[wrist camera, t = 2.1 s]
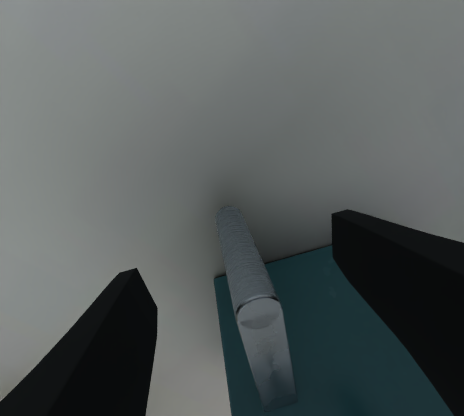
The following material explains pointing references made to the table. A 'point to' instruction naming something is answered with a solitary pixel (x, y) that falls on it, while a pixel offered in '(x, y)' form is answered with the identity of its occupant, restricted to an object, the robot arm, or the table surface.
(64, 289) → the table surface
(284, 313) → the teal cabinet door
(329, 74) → the table surface
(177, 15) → the table surface
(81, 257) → the table surface
